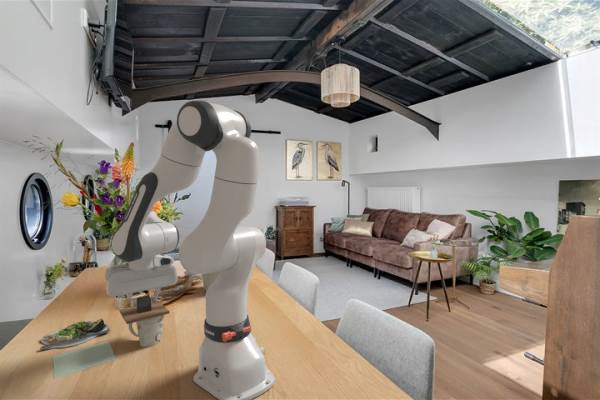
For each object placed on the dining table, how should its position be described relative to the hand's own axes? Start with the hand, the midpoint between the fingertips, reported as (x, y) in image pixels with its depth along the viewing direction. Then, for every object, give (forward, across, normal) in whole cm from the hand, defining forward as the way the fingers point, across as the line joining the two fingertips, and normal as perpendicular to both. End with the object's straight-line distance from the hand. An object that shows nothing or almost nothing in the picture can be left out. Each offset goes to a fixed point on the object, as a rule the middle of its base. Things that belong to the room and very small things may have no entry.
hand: (144, 303), depth 99 cm
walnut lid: (+3, 0, 0) cm, 3 cm away
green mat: (+13, -16, +1) cm, 21 cm away
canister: (+13, +41, +34) cm, 55 cm away
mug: (+13, 0, 0) cm, 13 cm away
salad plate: (+14, -16, +20) cm, 29 cm away
